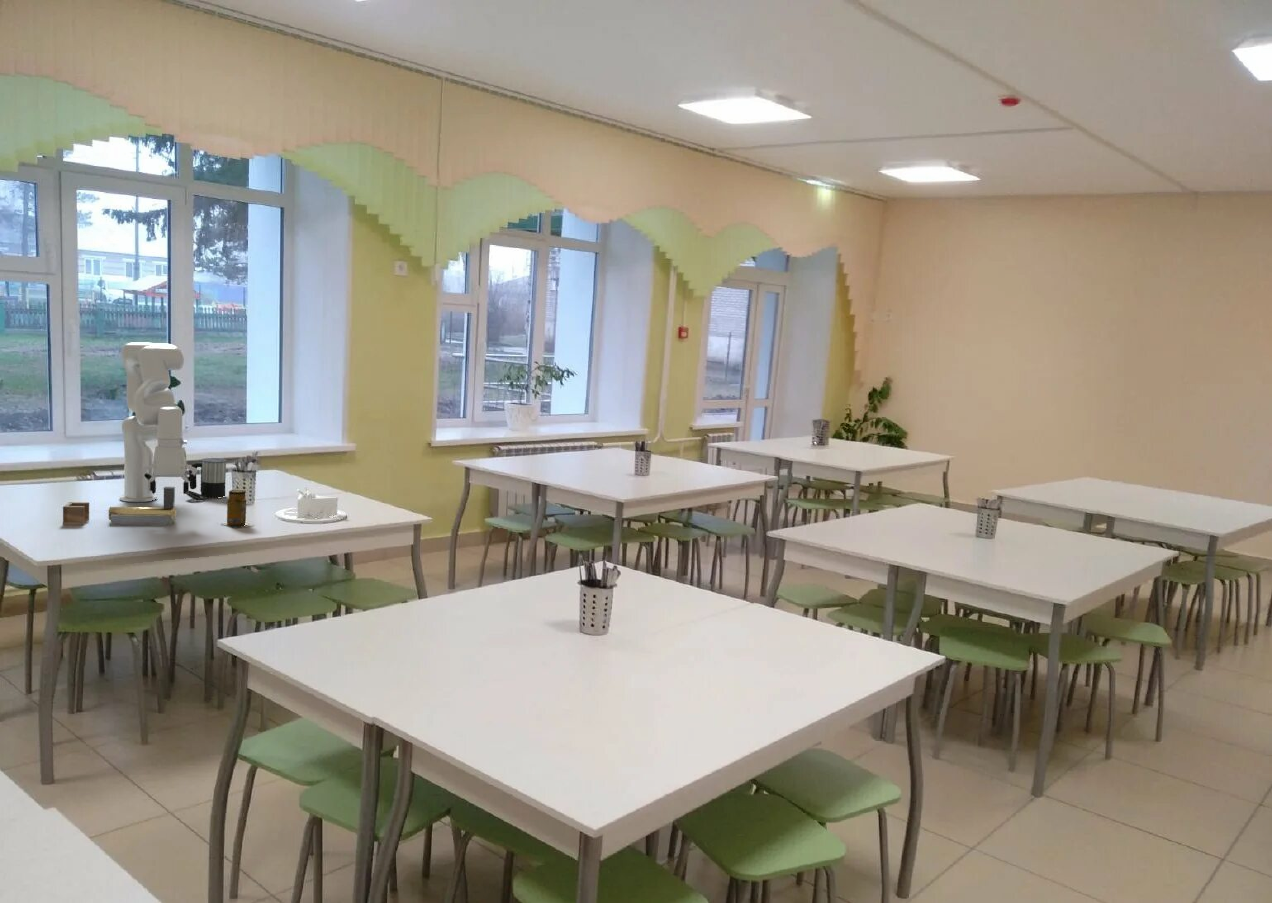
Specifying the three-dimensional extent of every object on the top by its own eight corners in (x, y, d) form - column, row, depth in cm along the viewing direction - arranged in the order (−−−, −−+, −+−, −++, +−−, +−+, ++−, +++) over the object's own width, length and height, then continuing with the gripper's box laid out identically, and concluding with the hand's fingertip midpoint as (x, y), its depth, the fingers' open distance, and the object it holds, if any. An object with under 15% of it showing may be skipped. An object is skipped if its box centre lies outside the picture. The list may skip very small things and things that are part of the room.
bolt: (111, 518, 324) (111, 485, 323) (176, 518, 331) (176, 486, 329) (108, 521, 320) (108, 487, 319) (174, 521, 326) (174, 488, 325)
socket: (69, 519, 322) (69, 502, 321) (89, 519, 324) (89, 502, 323) (63, 524, 314) (63, 506, 314) (83, 524, 316) (83, 507, 316)
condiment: (239, 521, 337) (239, 488, 336) (254, 526, 333) (255, 492, 331) (220, 524, 331) (221, 490, 330) (235, 528, 327) (236, 494, 325)
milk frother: (226, 494, 382) (227, 458, 380) (224, 502, 368) (225, 464, 366) (187, 494, 377) (188, 457, 375) (184, 502, 363) (184, 463, 361)
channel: (115, 520, 326) (115, 510, 326) (173, 520, 332) (173, 511, 332) (110, 525, 319) (110, 515, 318) (170, 525, 325) (170, 515, 324)
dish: (272, 523, 339) (273, 492, 338) (278, 509, 363) (278, 480, 362) (345, 524, 346) (346, 494, 345) (345, 510, 370) (346, 482, 369)
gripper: (199, 442, 331) (198, 491, 333) (143, 441, 325) (143, 491, 327) (196, 445, 324) (195, 495, 326) (139, 444, 318) (139, 494, 320)
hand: (169, 493), depth 326 cm, fingers open, 9 cm apart
